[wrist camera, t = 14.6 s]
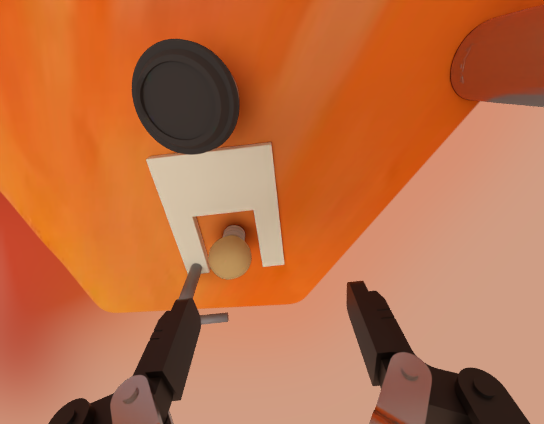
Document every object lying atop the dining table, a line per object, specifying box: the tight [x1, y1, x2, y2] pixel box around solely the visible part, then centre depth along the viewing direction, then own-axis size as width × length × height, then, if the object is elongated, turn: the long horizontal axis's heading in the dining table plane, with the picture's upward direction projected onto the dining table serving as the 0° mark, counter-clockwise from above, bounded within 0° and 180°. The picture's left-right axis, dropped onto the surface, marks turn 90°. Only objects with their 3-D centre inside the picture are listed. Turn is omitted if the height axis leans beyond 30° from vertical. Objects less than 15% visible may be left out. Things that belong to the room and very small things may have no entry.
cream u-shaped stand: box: [146, 142, 284, 324], centre depth 35 cm, size 18×22×14 cm
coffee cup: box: [132, 39, 239, 155], centre depth 26 cm, size 9×9×15 cm
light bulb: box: [208, 225, 251, 279], centre depth 38 cm, size 6×6×10 cm
